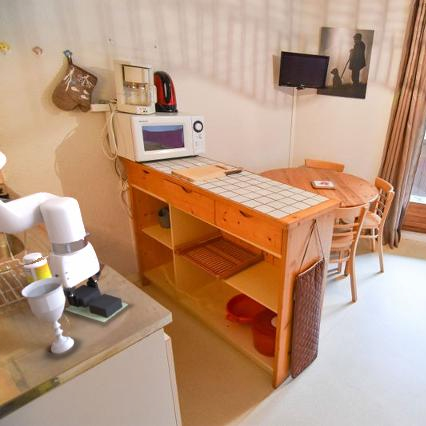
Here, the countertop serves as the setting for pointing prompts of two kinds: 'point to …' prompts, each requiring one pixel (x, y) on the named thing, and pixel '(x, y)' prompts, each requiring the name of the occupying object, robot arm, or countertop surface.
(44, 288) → the chalice
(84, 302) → the loose pad
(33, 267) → the supplement bottle
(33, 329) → the countertop surface
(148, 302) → the countertop surface
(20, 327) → the countertop surface
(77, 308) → the mat
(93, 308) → the pad
